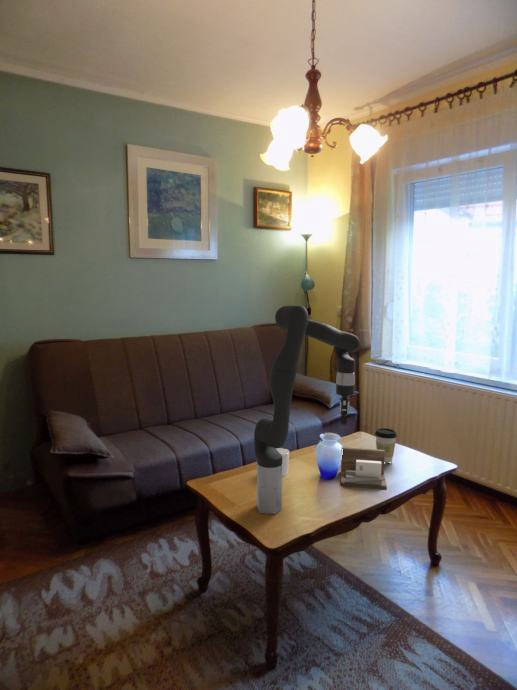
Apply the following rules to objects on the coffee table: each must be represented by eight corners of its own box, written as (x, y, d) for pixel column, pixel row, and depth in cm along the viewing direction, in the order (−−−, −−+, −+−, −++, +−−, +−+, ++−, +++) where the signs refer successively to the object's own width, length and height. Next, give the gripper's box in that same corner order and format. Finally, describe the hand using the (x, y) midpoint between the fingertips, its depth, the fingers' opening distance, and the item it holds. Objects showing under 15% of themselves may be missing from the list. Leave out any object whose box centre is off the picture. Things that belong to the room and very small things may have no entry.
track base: (386, 489, 179) (387, 462, 177) (340, 485, 182) (341, 459, 181) (383, 475, 192) (384, 450, 191) (340, 471, 196) (341, 447, 194)
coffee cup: (369, 459, 210) (370, 428, 208) (387, 457, 213) (389, 426, 211) (381, 467, 201) (382, 435, 199) (400, 465, 204) (401, 433, 202)
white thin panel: (380, 482, 182) (381, 463, 181) (355, 480, 184) (356, 461, 183) (380, 479, 185) (380, 461, 184) (355, 478, 186) (356, 459, 185)
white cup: (289, 470, 197) (289, 448, 196) (288, 477, 189) (289, 455, 188) (271, 469, 198) (271, 447, 196) (270, 476, 190) (270, 454, 189)
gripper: (354, 386, 175) (353, 427, 177) (354, 380, 189) (353, 417, 191) (335, 385, 177) (333, 425, 178) (336, 379, 190) (335, 416, 192)
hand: (343, 421), depth 185 cm, fingers open, 8 cm apart
